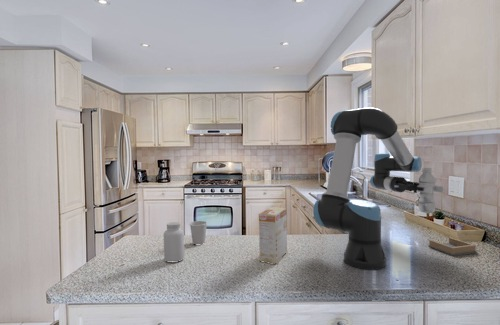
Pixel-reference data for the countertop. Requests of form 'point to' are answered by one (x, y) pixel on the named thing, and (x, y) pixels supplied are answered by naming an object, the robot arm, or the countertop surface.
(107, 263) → the countertop surface
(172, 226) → the pill bottle
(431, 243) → the tray
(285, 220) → the coffeecake box
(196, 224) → the dixie cup
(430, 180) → the silver metal bottle
